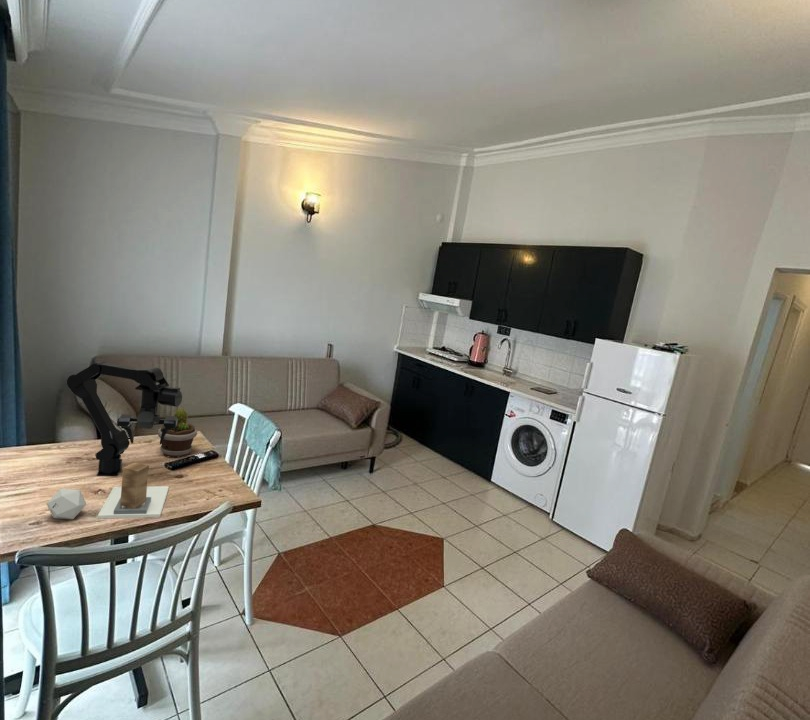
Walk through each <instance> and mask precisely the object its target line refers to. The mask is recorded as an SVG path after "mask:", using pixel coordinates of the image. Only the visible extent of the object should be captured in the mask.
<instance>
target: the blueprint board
mask: <svg viewBox="0 0 810 720" xmlns="http://www.w3.org/2000/svg"><path fill="white" fill-rule="evenodd" d="M121 489H122V486H113V488H112V490H111V491H110V492H109V495H108V496H107V498H106V500H105V502H104V503H103V506H102V507H101V509H100V510H99V512H98V514H97V517H96V518H97V520H99V519H102V520H103V519H104V520H105V519H137V518H138V519H140V518H141V519H144V518H146V519H147V518H161V515H162V512H163V508H164V506H165V502H166V500H167V496H168V493H169V489H170V486H167V485H166V486H164V485H163V486H157V485H155V486H150V485H149V486H148V485H147V493H146V502H145V503H143V504H142V505H140V506H138V507H137V508H135V509H134V508H130V507H125V506H121V505H120V503H121Z"/></svg>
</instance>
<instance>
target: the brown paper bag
mask: <svg viewBox="0 0 810 720" xmlns="http://www.w3.org/2000/svg"><path fill="white" fill-rule="evenodd" d="M149 469H150V468H149V465H147V464H143V463H139V462H133V463H130V464H129V465H126V466H124V467H122V476H121V478H122V479H121V487H122V489H121V503H120V505H121V506H125V507H130V508H134V509H135V508H137V507H138V506H140V505H142V504H143V503H145V502H146V493H147V486H148V479H149Z"/></svg>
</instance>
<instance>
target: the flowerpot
mask: <svg viewBox="0 0 810 720" xmlns="http://www.w3.org/2000/svg"><path fill="white" fill-rule="evenodd" d="M188 414H189V413H188V412H187V410H186V409H185V408H183V407H182V406H180V407H179V406H178V407H177V410H175V412H174V411H173V417H177V418H178V421H177V425H176V428H172V430H168V431H167V433H166V434H165V436H164V439H163V441H162V443H161V444H160V447H159V448H160V452H161V453H162V454H163V456H165V457H167V456H169V457H168V458H179V457H182V456H183V457H185V456H188V455H189V453H190V452H191V451H193V446H192V444H193V442H194V438H196V437H197V435H198V431H197V428H195V426H194V425H193V424H191V423H188V419H189V417H188ZM163 427H164V424H162V426H161V427H160V428H159V429H158V430H157V436H158V437H159V439H161V434H162V429H163ZM187 454H188V455H187Z"/></svg>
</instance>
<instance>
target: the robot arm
mask: <svg viewBox="0 0 810 720" xmlns="http://www.w3.org/2000/svg"><path fill="white" fill-rule="evenodd" d="M102 375H104V376H108V377H109V376H110V377H116V378H121V379H128V380H131V381H134V382H135V383H137V384H138V386H136V387H135V388H134V389H135V390H139V391H140V392H141V393H140V407H139V408H140V409H139V412H138V415H137V417H134V415H133V414H126V413H122V414H121V415H120V416H119V417H118V418H117V421H116V427H115V424H114V422H113V420H112V419H111V417H110V415H109V414H108V411H107V410H106V407H105V406H104V404H103V402H102V400H101V399H100V397H99V395H98V393H97V392H98V391H97V389H98V384H97V380H98V379H99V378H100V377H101V376H102ZM66 387H68V389H69V390H70V391H71V393H72V394H73V395H74V396H75V397H77V398H79V399H81V400H82V402H83V404H84V407H85V408H86V410H87V412H88V413H89V415H90V417H91V418H92V421H93V422H94V424H95V426H96V427H97V429H98V431H99V433H100V445H101V447H102V449H100V450H99V451H97V452H96V453H95V458H96V459H95V460H97V461H98V471H97V473H96V476H98V477H99V476H102V477H103V476H116V477H117V476H118V475H119V474H120V472H121V471H122V470H123V459H122V455H123V454H124V452H125V451H126V450H128V448H129V446H130V444H131V445H133V444H134V439H135V437H134V434H135V433H134V432H135V429H134V424H136V427H137V429H148V430H150V429H152V428H153V427H154V426H157V425H158V426H159V425H164V427H163V429H162V434H161V438H159V439H160V440H159V445H162V441H163V439H164V436H165V434H166V433H167V431H168V430H172V428H176V425H177V421H178V418H177V417H174V416H165V418H161V415H160V414H159V405H163V406H167V407H168V406H169V407H175V408H176V407H177V408H178V407H179V406H180V405H181V403H182V401H183V394H182V392H181V388H180V387H173V386H170V385H169V383H168V381H167V379H166V378H165V376H164V373H163V371H162V369H161V368H158V367H133V366H128V365H122V364H115V363H109V362H105V361H104V360H103V361H98V362H93V363H92V364H91V365H89V366H88V367H86V368H84V369H83V370H81V371H78V373H76V374H71V375H69V376H68V378H67V380H66ZM117 427H120V428H121V429H122V430H119V429H118V428H117Z"/></svg>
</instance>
